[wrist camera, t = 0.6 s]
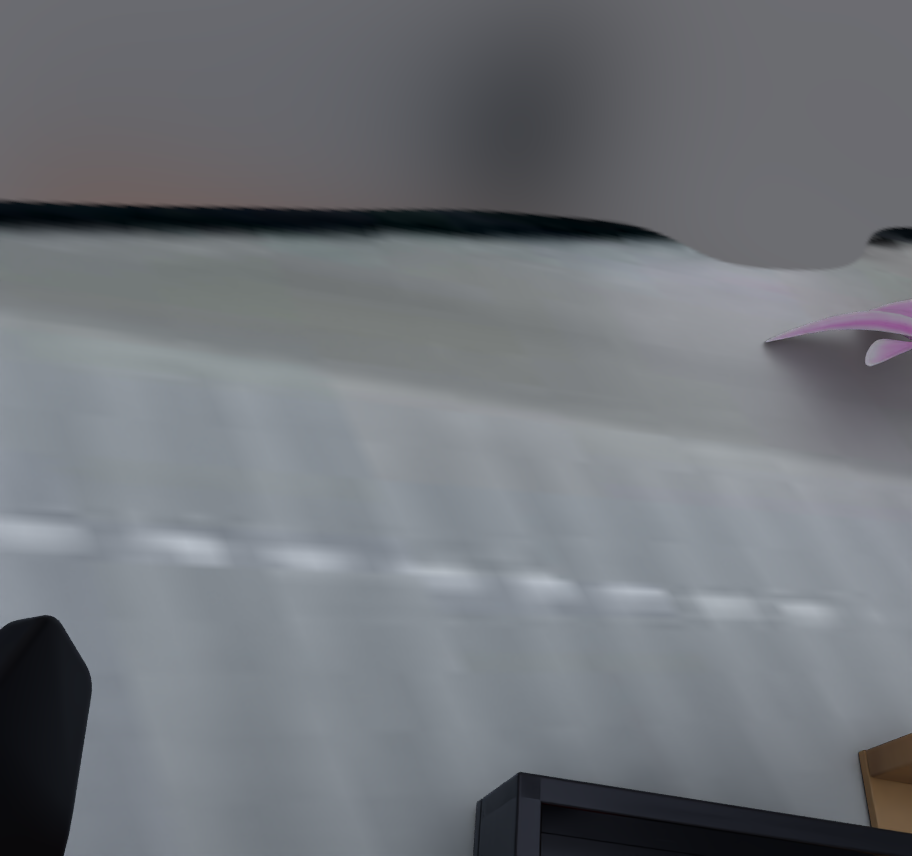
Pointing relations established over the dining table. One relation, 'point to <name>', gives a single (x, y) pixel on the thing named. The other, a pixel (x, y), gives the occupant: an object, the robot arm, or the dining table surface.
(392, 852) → the dining table surface
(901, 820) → the tray
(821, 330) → the lily
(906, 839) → the pan
